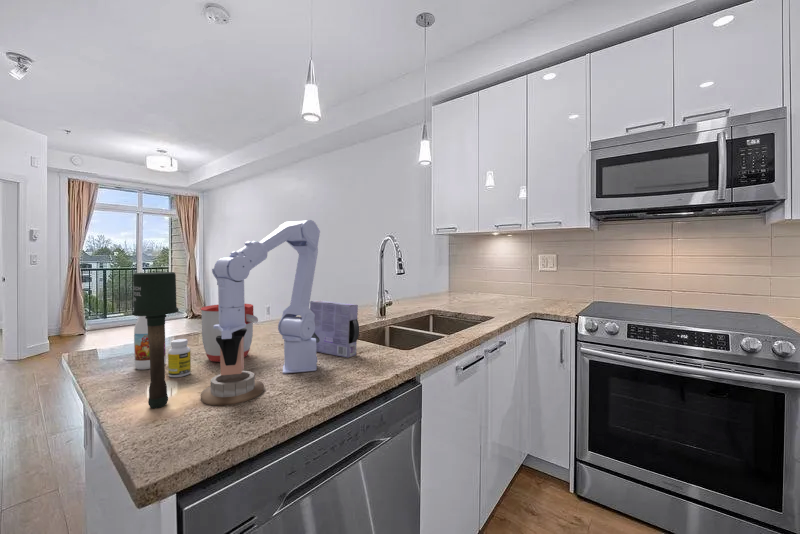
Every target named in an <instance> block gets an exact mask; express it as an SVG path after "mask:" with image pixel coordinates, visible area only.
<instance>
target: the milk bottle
mask: <svg viewBox="0 0 800 534" xmlns="http://www.w3.org/2000/svg"><path fill="white" fill-rule="evenodd" d="M145 317H146V316H138V318H137V321H136V322H135V324H134V329H133V352H134V358H133V359H134V368H135V369H136V370H145V371H146V370H150V345H149V342H148V326H147V319H146V318H145ZM166 358H167V357H166V340H165V341H164V364H165V365H166V360H167V359H166Z"/></svg>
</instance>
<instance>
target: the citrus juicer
mask: <svg viewBox="0 0 800 534" xmlns="http://www.w3.org/2000/svg"><path fill="white" fill-rule="evenodd" d="M244 306H245V323H246V327H244V328H245V329H247V331H246V333H245V336H244V358H246V357H247V356H248V355H249V352H250V350H251V345H252V342H253V336H254V335H253V333H254V324H256V323H257V324H258V322H259V319H258V317H257V315H254V304H251V303H245V305H244ZM200 310H201V338H202V340H201V341H202V345H203V349H204V351H205V355H206V356H207V358H208V361H210V362H217V363H218V362H219V363H220V346H219V344H218V343H217V341H216V337H217V336H222V334H221V331H220V330H219V329H214V328H213V326H214V325H216V324H219V304H212V305H205V306H202V307H201V308H200ZM242 329H243V328H242Z"/></svg>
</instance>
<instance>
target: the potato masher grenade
mask: <svg viewBox="0 0 800 534" xmlns="http://www.w3.org/2000/svg"><path fill="white" fill-rule="evenodd" d="M132 278H133V280H132V282H133V283H132V286H133V289H132V290H133V311H132V312H131V316H133V317H134V316H135V317H139V316H146V317H145V318H146V319H147V326H148V342H149V345H150V369H149V372H150V373H149V374H150V375H149V376H150V377H149V378H150V384H149V387H148V401H147V402H148V407H150V408H151V409H159V408H163V407H164V406H166V405H167V404H168V401H169V397H168V396H169V395H168V388H167V383H166V382H167V381H166V374H165V373H166V371H165V369H166V368H165V365H166V363H165V364H164V341H165V342H166V318H167V315H172V314H175V313H179V312H180V311H179V308H178V307H177V306H178V305H177V280H176V279H177V276H176V272H173V271H154V272H153V271H150V272H136V273H133V274H132Z"/></svg>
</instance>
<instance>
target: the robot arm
mask: <svg viewBox="0 0 800 534" xmlns="http://www.w3.org/2000/svg"><path fill="white" fill-rule="evenodd" d="M320 233H321V230H320V228H319V226H318V224H317V223H316V222H315V221H314V220H312V219H306V220H294V221H290V220H288V221H285V222H284V223H282V224H279V226H278V227H277V228H276V229H275V230H273V231H272V232H271V233H269V234H268V235H267V236H265V237H264V238H262V239H261V240H260V241H257V240H251V241H250V240H247V241H245V242H244V246H243V247H241V248H239V249H238V250H232V251H231V252H230V254H229V256H226V257H220V258H219V259H217V261H216V262H215V264H214V267H213V268H211V271H212V272H211V273H212V274H213V277H214V278H215V280H216V285H217V288H218V289H217V295H218V301H217V303H218V305H219V324H216V325H214V326H213V328H214V329H219V330H220V331H221V334H222V336H217V337H216V341H217V343H218V344H219V346H220V348H221V350H222V353H223V357H224V361H225V364H226V366H228V365H235V364H236V361H237V355H238V348H239V344H240V342H241V339H242V337H244V336H245V333H246V331H247V329H245V328H244V327H246V323H245V306H244V305H245V304H246V302H245V280H246V279H248V277H249V275H250V273H251V270H253V269H254V268H255V267H257V266H258V265H260V264H261V263H262V262H264V261H265V260H266V259H268V253H269V252H270V251H273V250H274V249H275V248H277V247H279V246H280V245H282V244H284V243H287V244H288V245H289V246H290V247H292V248H293V249H294V250H295V251H296V252H297V254H298V259H297V262H296V263H297V264H296V269H295V275H294V280H293V288H292V292H291V293H292V294H291V298H290V304H289V305H288V306H287V307H286V308H285V309H284V310H283V311H282V315H281V318H280V320H279V321H278V324H277V331H278V333H279V335H281V336H282V340H283V349H284V350H283V351H284V352H283V355H284V357H283V358H284V360H283V361H284V363H283V366H282V374H291V373H292V374H293V373H305V372H315V371H318V370H317V369H318V366H317V365H318V364H317V363H318V356H317V352H316V338H311V337H312V335H313V334H314V331H315V322H314V318H315V314H314V313H313V312H312V311H311V310H310V302H311V297H312V291H313V290H312V289H313V285H314V279H315V278H314V277H315V273H316V272H315V271H316V266H317V260H318V254H319V247H318V246H319V242H320V241H319V239H320V236H321V235H320ZM242 328H243V329H242Z"/></svg>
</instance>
